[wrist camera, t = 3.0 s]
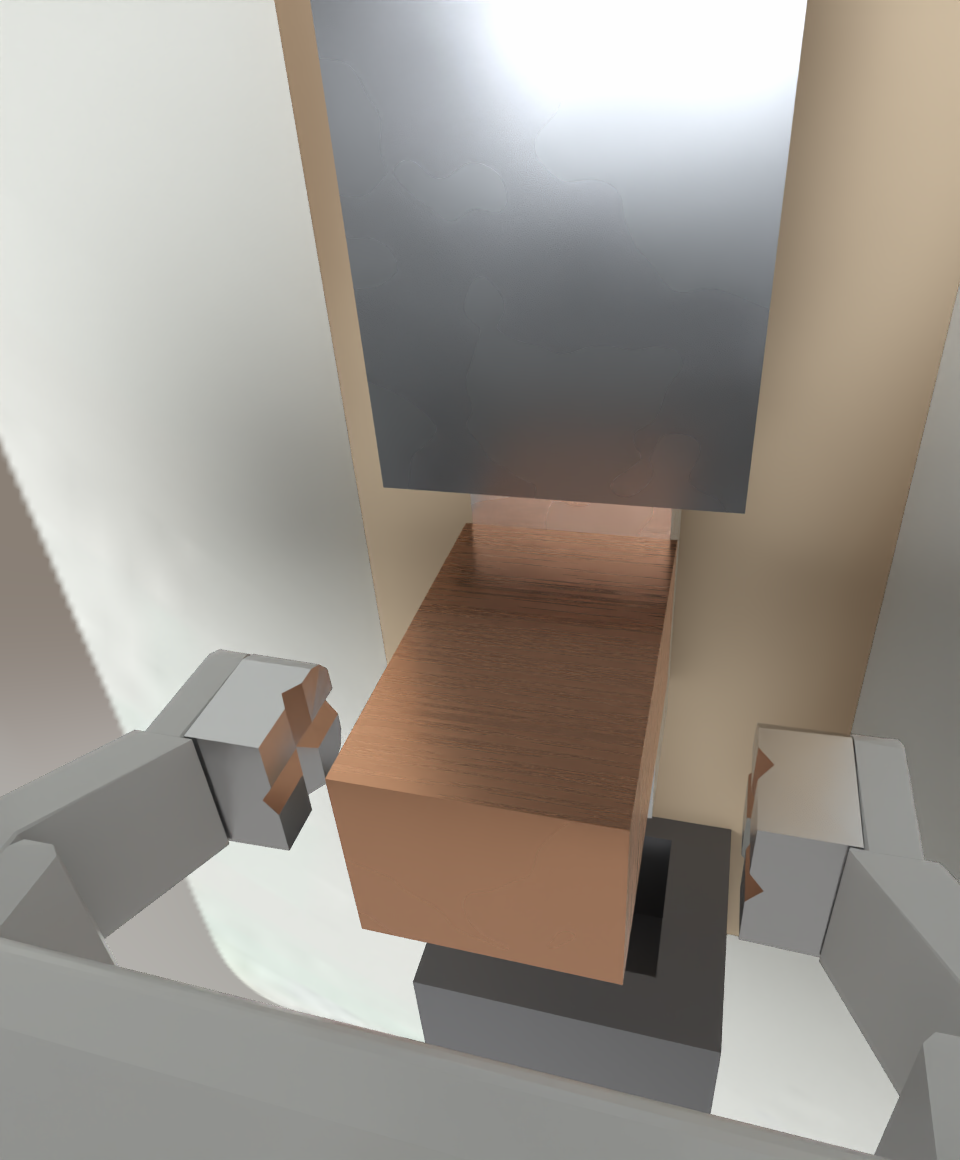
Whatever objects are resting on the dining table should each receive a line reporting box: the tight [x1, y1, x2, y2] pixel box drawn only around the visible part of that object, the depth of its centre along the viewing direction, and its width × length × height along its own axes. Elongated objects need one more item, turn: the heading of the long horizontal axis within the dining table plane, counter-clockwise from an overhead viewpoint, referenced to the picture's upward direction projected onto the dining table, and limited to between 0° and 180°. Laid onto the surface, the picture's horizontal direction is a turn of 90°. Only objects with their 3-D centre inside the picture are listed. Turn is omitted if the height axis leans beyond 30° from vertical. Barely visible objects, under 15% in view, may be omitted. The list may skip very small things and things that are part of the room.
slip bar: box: [325, 494, 682, 985], centre depth 10 cm, size 3×15×8 cm, turn 4°
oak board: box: [274, 0, 960, 936], centre depth 16 cm, size 10×24×1 cm, turn 4°
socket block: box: [413, 816, 731, 1114], centre depth 20 cm, size 6×4×5 cm, turn 94°
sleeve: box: [310, 0, 807, 514], centre depth 10 cm, size 5×9×5 cm, turn 4°
